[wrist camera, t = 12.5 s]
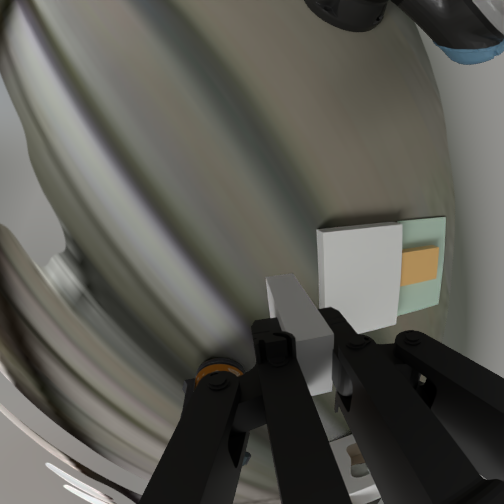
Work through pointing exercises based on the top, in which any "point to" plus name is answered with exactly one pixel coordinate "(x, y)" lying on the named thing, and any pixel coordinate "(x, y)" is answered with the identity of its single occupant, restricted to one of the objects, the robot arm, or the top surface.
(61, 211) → the top surface
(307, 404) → the robot arm
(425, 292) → the mat
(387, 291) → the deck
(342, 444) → the gable box
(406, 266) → the light orange flat block
